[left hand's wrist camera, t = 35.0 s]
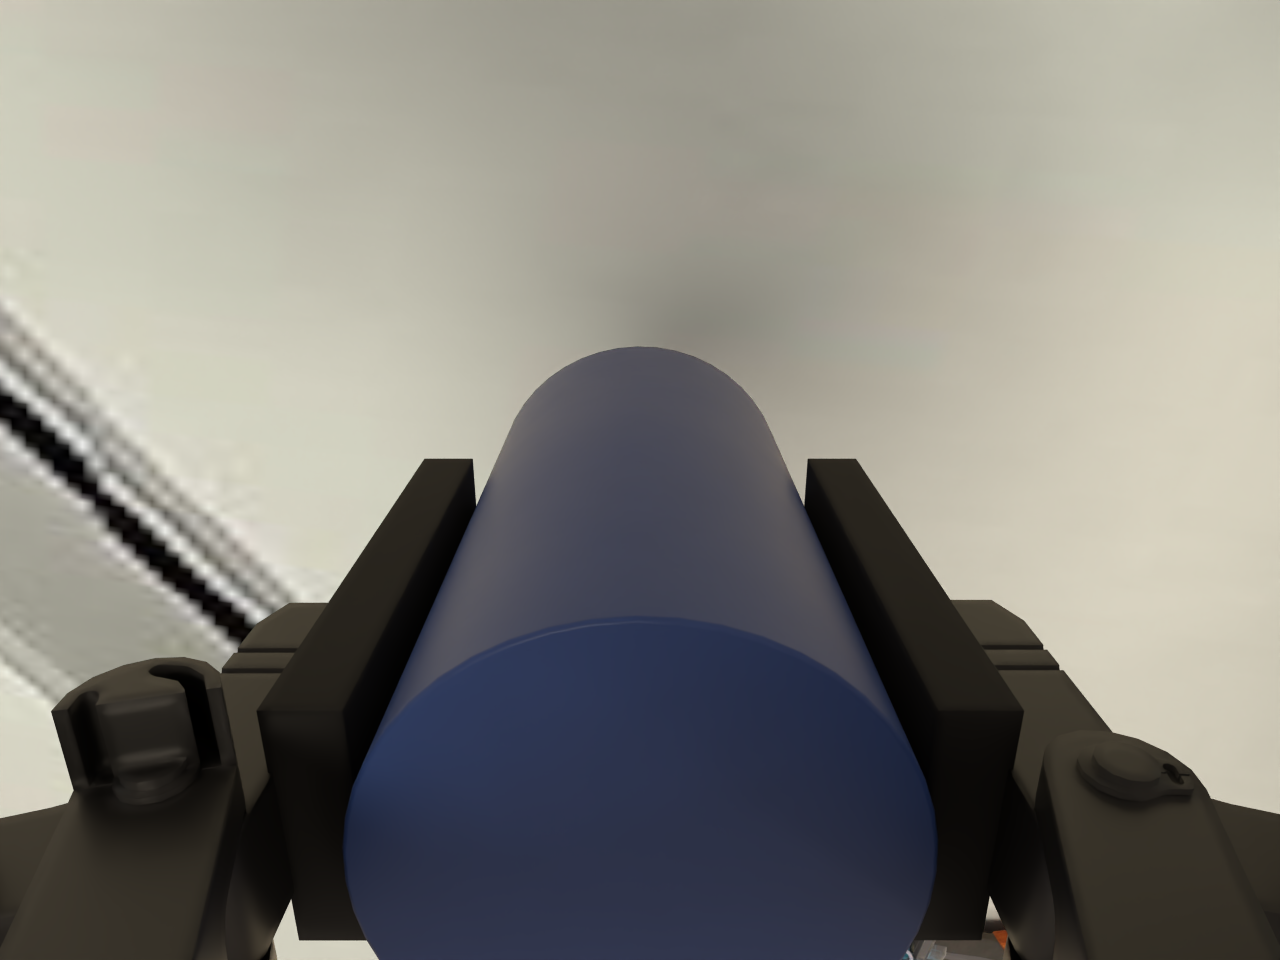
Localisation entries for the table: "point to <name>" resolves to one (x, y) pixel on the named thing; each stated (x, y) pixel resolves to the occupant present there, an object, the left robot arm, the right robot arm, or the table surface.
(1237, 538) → the table surface
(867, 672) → the canister
